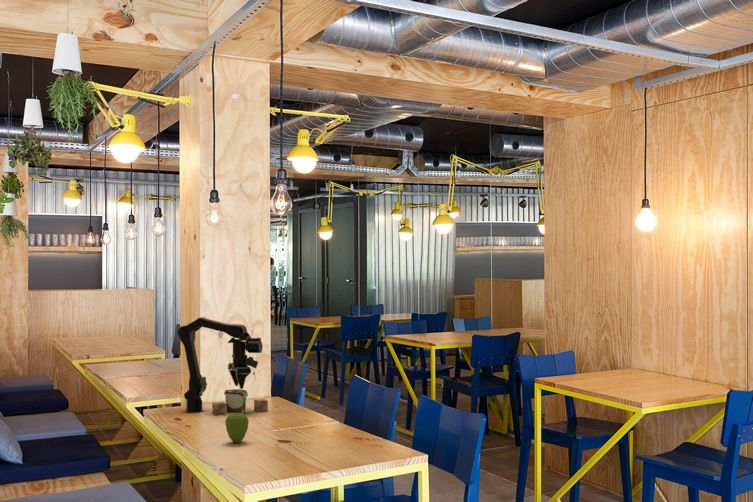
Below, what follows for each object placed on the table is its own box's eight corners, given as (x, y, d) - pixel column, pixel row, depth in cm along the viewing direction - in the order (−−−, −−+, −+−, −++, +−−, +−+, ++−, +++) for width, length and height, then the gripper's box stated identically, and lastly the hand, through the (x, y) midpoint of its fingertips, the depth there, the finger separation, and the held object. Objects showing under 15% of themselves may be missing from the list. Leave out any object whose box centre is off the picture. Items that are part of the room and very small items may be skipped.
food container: (253, 412, 324) (253, 390, 324) (244, 415, 319) (244, 392, 319) (233, 410, 331) (233, 388, 331) (224, 412, 325) (224, 390, 326)
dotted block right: (257, 412, 325) (257, 401, 325) (254, 410, 329) (254, 399, 329) (267, 411, 327) (267, 400, 327) (264, 409, 331) (264, 398, 332)
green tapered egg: (223, 441, 270) (223, 410, 271) (245, 439, 273) (246, 408, 274) (227, 446, 262) (227, 414, 263) (250, 444, 265) (250, 412, 266)
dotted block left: (214, 415, 318) (214, 404, 318) (212, 413, 322) (212, 402, 322) (225, 415, 320) (225, 403, 320) (223, 413, 324) (223, 401, 324)
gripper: (262, 353, 320) (262, 388, 320) (251, 349, 337) (251, 383, 337) (237, 355, 316) (237, 390, 315) (227, 351, 333) (227, 384, 332)
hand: (239, 387), depth 325 cm, fingers open, 9 cm apart
